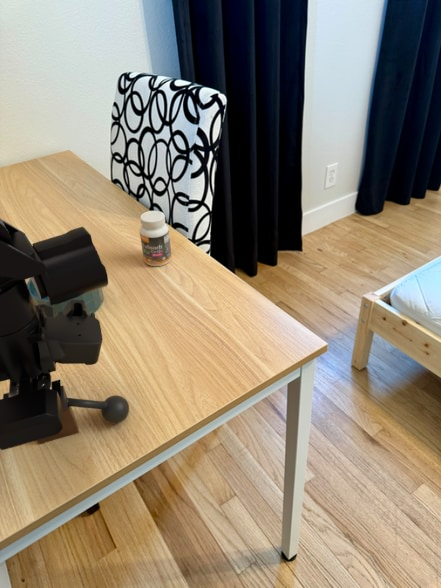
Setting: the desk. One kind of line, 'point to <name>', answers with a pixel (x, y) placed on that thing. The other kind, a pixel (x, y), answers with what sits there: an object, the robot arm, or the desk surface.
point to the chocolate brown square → (64, 427)
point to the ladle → (99, 406)
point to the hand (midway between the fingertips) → (49, 413)
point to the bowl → (90, 300)
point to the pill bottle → (155, 238)
